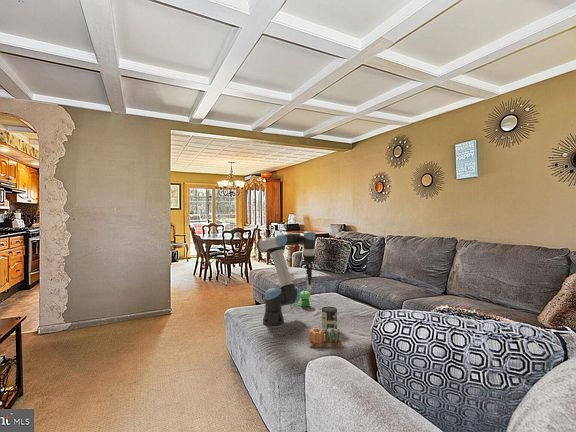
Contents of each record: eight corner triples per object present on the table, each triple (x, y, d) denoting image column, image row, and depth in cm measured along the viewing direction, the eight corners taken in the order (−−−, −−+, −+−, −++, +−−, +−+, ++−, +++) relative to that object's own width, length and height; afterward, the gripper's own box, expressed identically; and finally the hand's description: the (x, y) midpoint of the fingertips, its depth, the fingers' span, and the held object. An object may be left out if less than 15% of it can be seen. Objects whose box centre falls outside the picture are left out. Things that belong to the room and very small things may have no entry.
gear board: (310, 347, 175) (310, 333, 175) (308, 337, 189) (308, 324, 189) (342, 347, 176) (342, 333, 175) (338, 337, 190) (338, 324, 189)
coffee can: (339, 328, 203) (339, 307, 203) (333, 334, 194) (333, 312, 194) (325, 325, 209) (325, 305, 208) (319, 330, 200) (318, 309, 200)
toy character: (289, 306, 255) (288, 290, 254) (310, 303, 256) (309, 288, 256) (290, 309, 245) (289, 294, 245) (312, 307, 247) (311, 291, 246)
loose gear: (309, 343, 178) (309, 333, 178) (308, 337, 187) (308, 327, 187) (325, 343, 178) (325, 333, 178) (323, 337, 187) (323, 327, 187)
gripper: (316, 258, 187) (316, 292, 188) (313, 251, 212) (313, 281, 213) (304, 258, 187) (304, 292, 188) (302, 251, 212) (302, 281, 213)
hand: (308, 286), depth 201 cm, fingers open, 13 cm apart
